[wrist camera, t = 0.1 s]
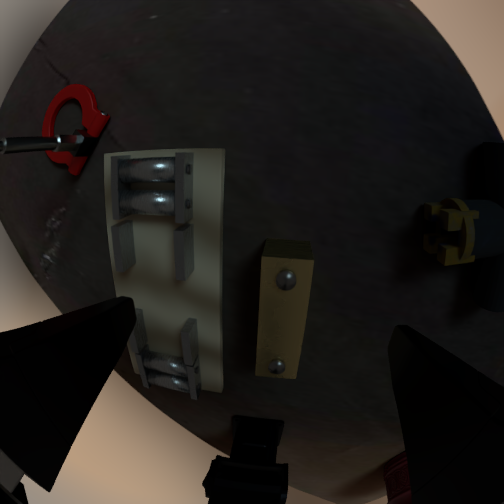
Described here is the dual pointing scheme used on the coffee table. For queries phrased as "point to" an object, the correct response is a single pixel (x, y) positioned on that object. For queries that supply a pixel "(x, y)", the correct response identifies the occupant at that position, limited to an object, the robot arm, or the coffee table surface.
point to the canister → (397, 480)
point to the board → (163, 265)
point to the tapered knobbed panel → (283, 306)
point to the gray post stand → (64, 146)
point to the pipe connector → (474, 231)
